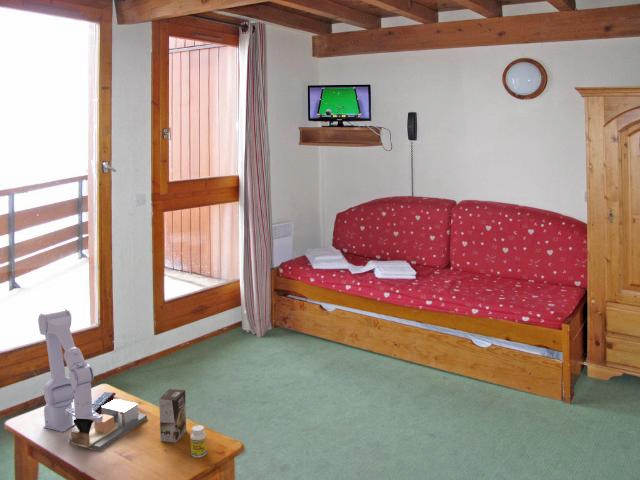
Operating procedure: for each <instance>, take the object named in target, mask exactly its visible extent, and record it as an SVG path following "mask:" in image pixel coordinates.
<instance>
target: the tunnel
mask: <svg viewBox="0 0 640 480" xmlns="http://www.w3.org/2000/svg"><path fill="white" fill-rule="evenodd" d="M138 408H139V407H138V403H136V402H130V401H127V400H122V399H118V398H113V400H111V401H109V402H107V403H105V404H104V405H101V415H103V414H106V415H111V416H115V415H117V414H118V412H119V413H122V426H123V427H126V426H127V425H129V424H130V423H132V422H133V421H135V420H136V419H138V413H139V409H138Z"/></svg>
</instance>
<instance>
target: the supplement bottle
mask: <svg viewBox="0 0 640 480" xmlns="http://www.w3.org/2000/svg"><path fill="white" fill-rule="evenodd" d="M206 433H207V432H205V427H204V426H203V425H200V424H198V425H194V426H192V427H191V434H190V436H189V437H190V440H189V442H190V455H191V456H192V457H193V458H202V457H205V456H206V455H207V453H208V452H207V451H208V448H207V446H208V444H207V434H206Z"/></svg>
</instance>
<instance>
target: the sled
mask: <svg viewBox="0 0 640 480" xmlns="http://www.w3.org/2000/svg"><path fill="white" fill-rule="evenodd" d="M117 428H118V423H114V427H113V428H111V429H110V430H108V431H107V432H105V433H104V432H100V431H96V430H95V428H94V429H92V430H90V432H89V434H87V433H82V432H79V430H71V431H70V435H71V436H70V437H71V438H72V445H74V444H75V446H78V445H79V447H82V446H83V447H82V448H86V447H87V449H89V448H88V447H90V446H91V445H93V444H94V443H96V442H97V441H99V440H100V439H102V438H103V437H105V436H106V435H108V434H110V433H111V432H113V431H114V430H116V429H117ZM71 438H70V439H71Z"/></svg>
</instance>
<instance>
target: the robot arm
mask: <svg viewBox="0 0 640 480" xmlns="http://www.w3.org/2000/svg"><path fill="white" fill-rule="evenodd" d="M37 320H38V321H37V323H38V328H39V332H40V335H41V336H42V335H44V337H45V342H46V349H47V355H48V356H47V357H48V364H49V371H50V377H51V378H50V379H49V380H48V381H47V382H45V384H44V387H43V388H44V389H43V390H44V392H43V396H44V397H43V398H44V400H45V403H46V404H45V405H44V408H43V416H44V417H43V418H44V425H43V426H42V427H43V428H45V429H50V430H53V431H58V432H61V433H64V432H65V431H67V430H69V429H71V428H72V427H74V426H76V427H77V431H78V432H82V433H87V434H89V432H90V428H91V426H92V425H93V423H94V421H97V423H100V422H101V421H103V416H102V414H99V413H97V412H96V411H95V410H94V407H93V399H92V382H93V381H94V371H93V368H92V366H91V365H90V364H89V363H88V362H86V360H85V357H84V355H83V353H82V351H81V349H80V348H79V347H76V345H75V343H74V342H75V341H74V338H73V334H72V332H71V325H72V314H71V312H70V310H69V309H68V308H63V309H59V310H53V311H48V312H41V313H40V314H39V316H38V319H37ZM63 350H64V353H63ZM64 361H65V363H66V365H67V368H68V370H69V374H68V376H66V371H65V363H64ZM72 404H73V405H74V407H73V406H72ZM73 417H74V418H75V419H74V418H73Z"/></svg>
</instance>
